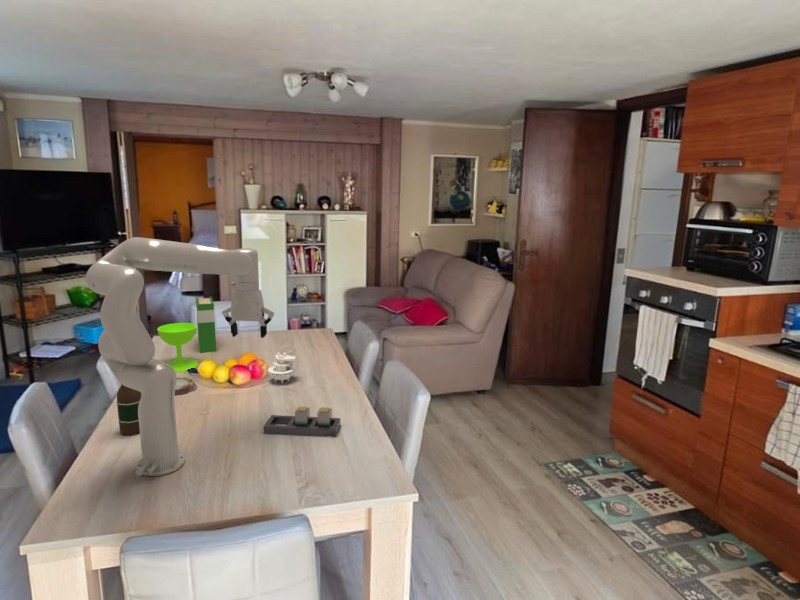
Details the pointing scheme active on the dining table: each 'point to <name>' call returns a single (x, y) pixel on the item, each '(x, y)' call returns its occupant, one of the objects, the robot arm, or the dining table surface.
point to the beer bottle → (128, 410)
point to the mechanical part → (283, 367)
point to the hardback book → (206, 325)
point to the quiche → (184, 386)
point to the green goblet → (179, 343)
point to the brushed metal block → (302, 417)
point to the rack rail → (299, 427)
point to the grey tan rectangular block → (325, 417)
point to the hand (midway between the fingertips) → (249, 336)
